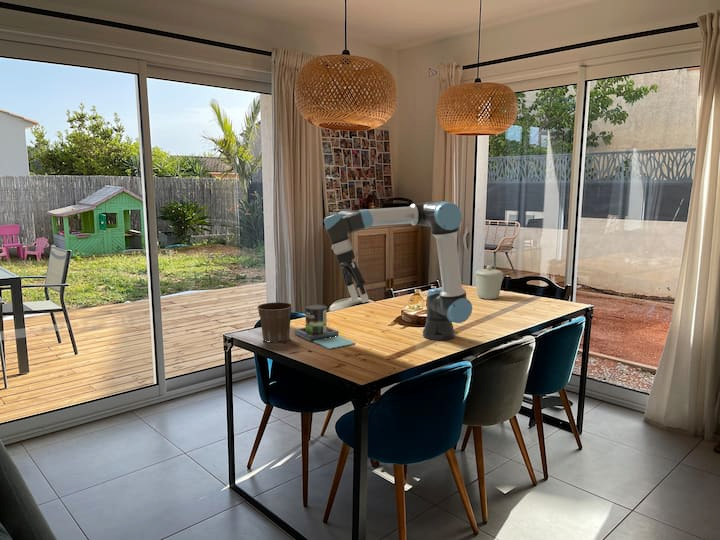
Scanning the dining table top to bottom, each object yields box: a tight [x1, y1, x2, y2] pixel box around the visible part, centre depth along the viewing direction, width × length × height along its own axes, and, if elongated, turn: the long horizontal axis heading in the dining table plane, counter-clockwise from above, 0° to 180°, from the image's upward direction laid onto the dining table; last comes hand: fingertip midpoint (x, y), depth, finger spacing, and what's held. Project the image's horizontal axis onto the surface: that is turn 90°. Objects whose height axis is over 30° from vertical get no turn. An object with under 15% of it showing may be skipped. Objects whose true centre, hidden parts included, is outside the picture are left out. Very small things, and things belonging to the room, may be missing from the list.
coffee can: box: [304, 304, 328, 335], centre depth 258 cm, size 10×10×14 cm
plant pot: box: [256, 301, 293, 343], centre depth 251 cm, size 16×16×16 cm
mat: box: [312, 335, 356, 350], centre depth 246 cm, size 14×14×1 cm
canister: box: [474, 264, 504, 300], centre depth 343 cm, size 18×18×21 cm
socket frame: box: [293, 326, 339, 343], centre depth 259 cm, size 15×15×2 cm
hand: (360, 300), depth 221 cm, fingers open, 13 cm apart
